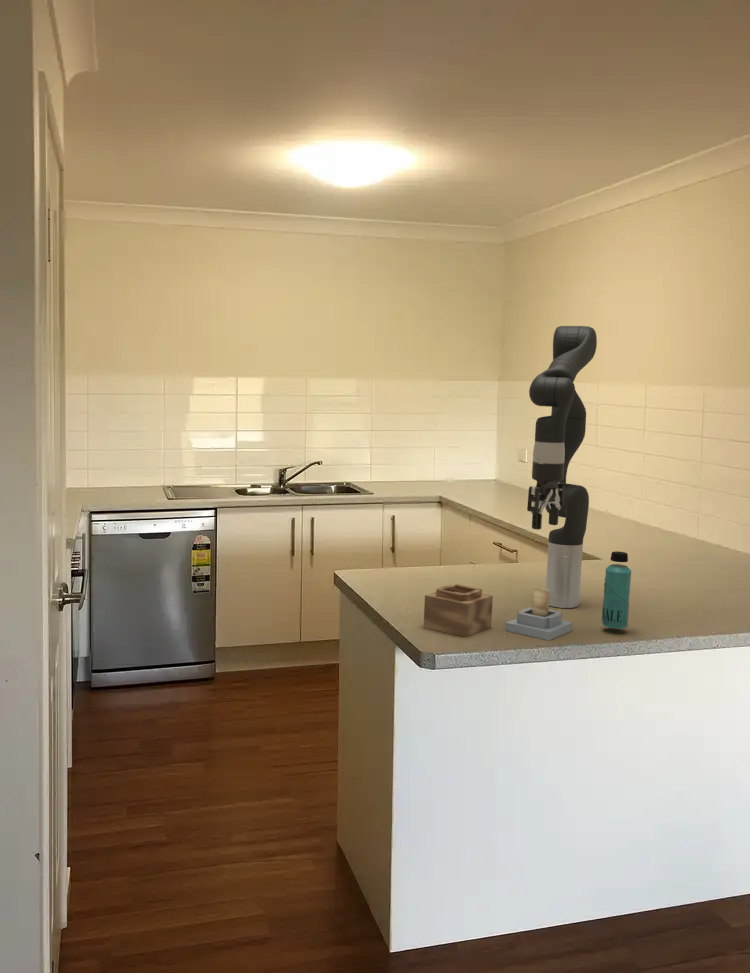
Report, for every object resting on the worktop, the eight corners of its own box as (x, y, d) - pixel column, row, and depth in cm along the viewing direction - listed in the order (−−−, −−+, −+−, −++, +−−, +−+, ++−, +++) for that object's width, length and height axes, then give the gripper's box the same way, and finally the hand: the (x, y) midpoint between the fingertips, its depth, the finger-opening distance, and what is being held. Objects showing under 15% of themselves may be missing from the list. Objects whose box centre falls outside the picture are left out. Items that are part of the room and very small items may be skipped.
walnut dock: (450, 618, 244) (452, 581, 243) (491, 627, 237) (493, 589, 235) (423, 627, 235) (425, 589, 233) (464, 637, 227) (466, 598, 226)
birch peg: (536, 619, 238) (537, 587, 237) (550, 622, 235) (552, 590, 234) (528, 622, 235) (530, 590, 234) (542, 625, 232) (544, 593, 231)
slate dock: (529, 621, 244) (530, 603, 243) (572, 630, 236) (573, 612, 236) (505, 630, 234) (506, 612, 234) (549, 640, 227) (550, 622, 226)
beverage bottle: (623, 627, 240) (628, 549, 238) (631, 635, 234) (636, 555, 231) (597, 627, 240) (602, 549, 238) (604, 634, 234) (610, 554, 231)
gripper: (548, 457, 238) (544, 521, 240) (520, 461, 226) (516, 528, 229) (576, 460, 233) (572, 525, 235) (548, 464, 222) (544, 532, 224)
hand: (544, 526), depth 232 cm, fingers open, 8 cm apart
